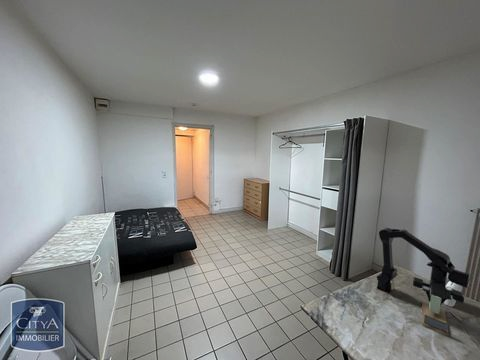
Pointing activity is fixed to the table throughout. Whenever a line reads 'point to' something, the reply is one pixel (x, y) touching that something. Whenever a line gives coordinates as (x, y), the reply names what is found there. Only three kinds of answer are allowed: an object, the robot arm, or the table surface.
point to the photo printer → (450, 286)
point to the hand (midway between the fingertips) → (434, 303)
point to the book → (434, 303)
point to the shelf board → (440, 317)
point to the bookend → (435, 323)
